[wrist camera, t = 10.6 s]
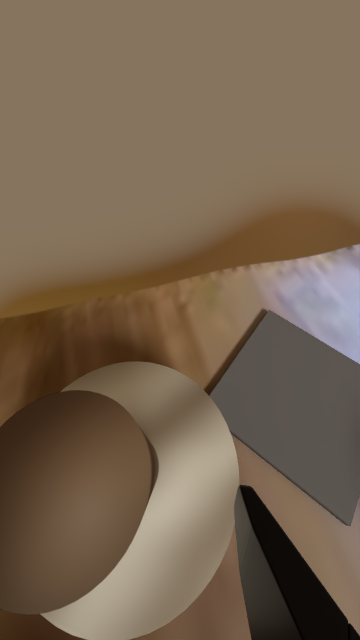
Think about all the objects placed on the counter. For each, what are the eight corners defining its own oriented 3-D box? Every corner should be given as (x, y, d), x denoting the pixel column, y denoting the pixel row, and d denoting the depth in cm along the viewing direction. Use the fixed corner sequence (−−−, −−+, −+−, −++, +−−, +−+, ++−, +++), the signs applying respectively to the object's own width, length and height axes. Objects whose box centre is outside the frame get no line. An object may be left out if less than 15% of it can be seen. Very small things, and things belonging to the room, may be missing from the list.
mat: (386, 385, 23) (391, 383, 23) (344, 524, 17) (350, 526, 17) (267, 312, 27) (269, 309, 26) (200, 408, 21) (201, 407, 20)
